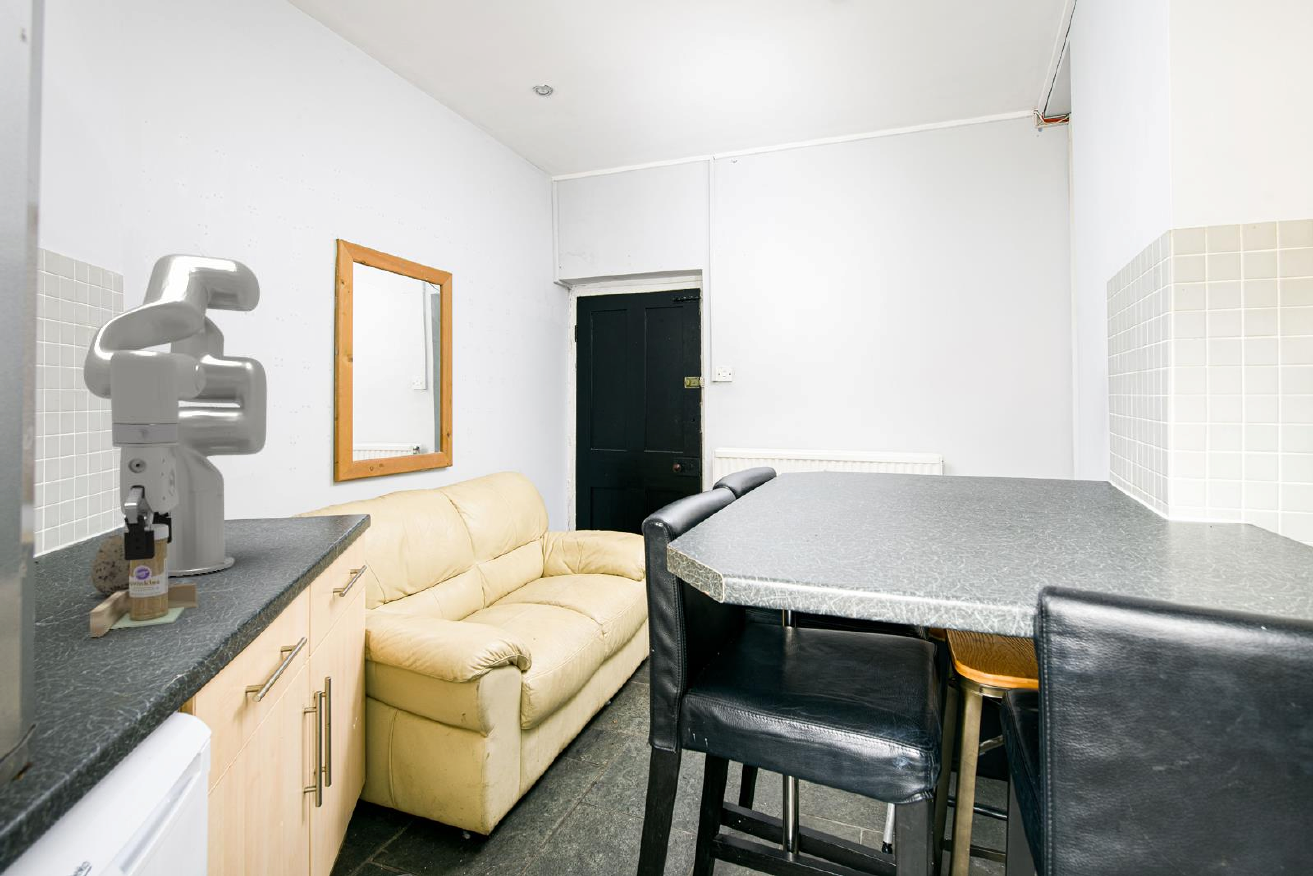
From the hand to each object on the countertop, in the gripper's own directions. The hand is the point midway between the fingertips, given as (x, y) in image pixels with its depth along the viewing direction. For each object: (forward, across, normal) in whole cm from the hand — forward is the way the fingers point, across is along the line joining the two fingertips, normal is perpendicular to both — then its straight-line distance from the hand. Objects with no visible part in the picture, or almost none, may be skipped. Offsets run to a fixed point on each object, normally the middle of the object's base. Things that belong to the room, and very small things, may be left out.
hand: (149, 551), depth 90 cm
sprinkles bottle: (+10, -1, 0) cm, 10 cm away
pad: (+10, -1, 0) cm, 10 cm away
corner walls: (+10, -2, 0) cm, 10 cm away
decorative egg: (+11, +16, +8) cm, 21 cm away
